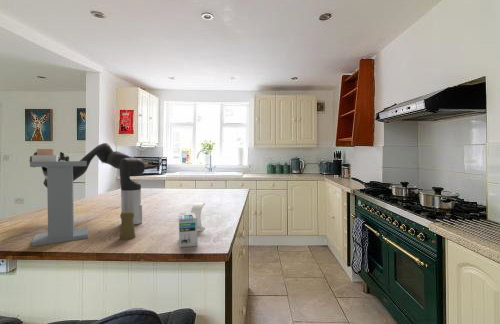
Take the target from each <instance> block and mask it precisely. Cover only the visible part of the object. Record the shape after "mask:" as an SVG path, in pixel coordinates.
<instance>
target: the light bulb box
mask: <svg viewBox="0 0 500 324" xmlns="http://www.w3.org/2000/svg"><path fill="white" fill-rule="evenodd" d="M178 239H179V248H187V247H197V246H198V231H197V217H196V215H195V213H191V212H184V213H183V212H182V213H179V212H178Z"/></svg>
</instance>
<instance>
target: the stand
mask: <svg viewBox="0 0 500 324" xmlns="http://www.w3.org/2000/svg"><path fill="white" fill-rule="evenodd" d="M31 156H32V162H30V161H29V167H30V168H42V167H47V187H46V188H47V190H46V191H47V192H46V193H47V232H41V233H36V234H35V236H34V238H33V239H32V240H31V242H30V246H31V247H36V246H42V245H43V246H44V245H50V244H57V243H64V242H69V241H71V242H72V241H79V240H85V239H88V238H89V237H88V232H89V231H88V227H81V228H75V227H74V226H75V222H74V221H75V220H74V217H75V216H74V210H75V209H74V181H73V166H87V161H80V160H72V161H71V160H69V161H58V157H59V155H57V154H56V155H55V154H54V155H34V154H32V155H31Z"/></svg>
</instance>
